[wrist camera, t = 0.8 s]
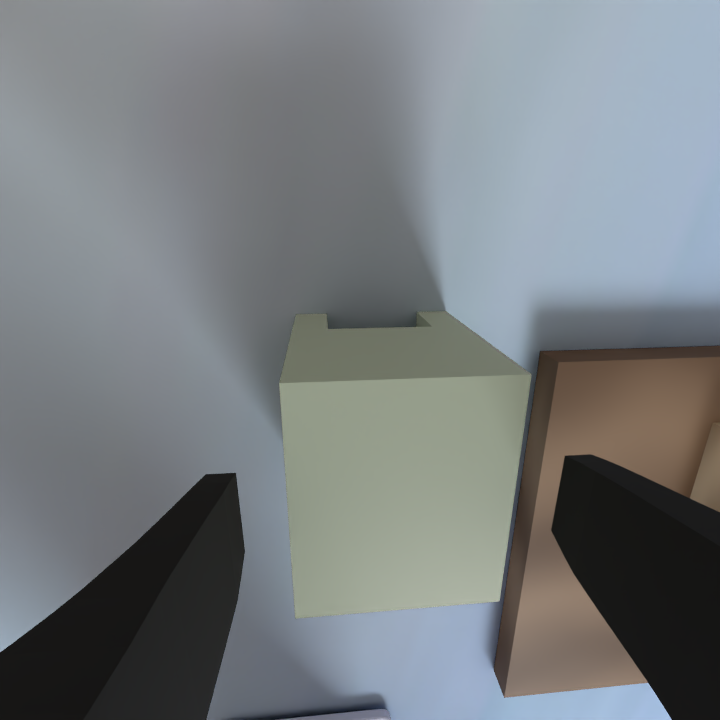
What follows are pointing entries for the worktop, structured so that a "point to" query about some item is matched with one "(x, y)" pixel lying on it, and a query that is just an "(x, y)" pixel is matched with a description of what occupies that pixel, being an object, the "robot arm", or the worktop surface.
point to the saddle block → (398, 464)
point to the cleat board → (622, 447)
